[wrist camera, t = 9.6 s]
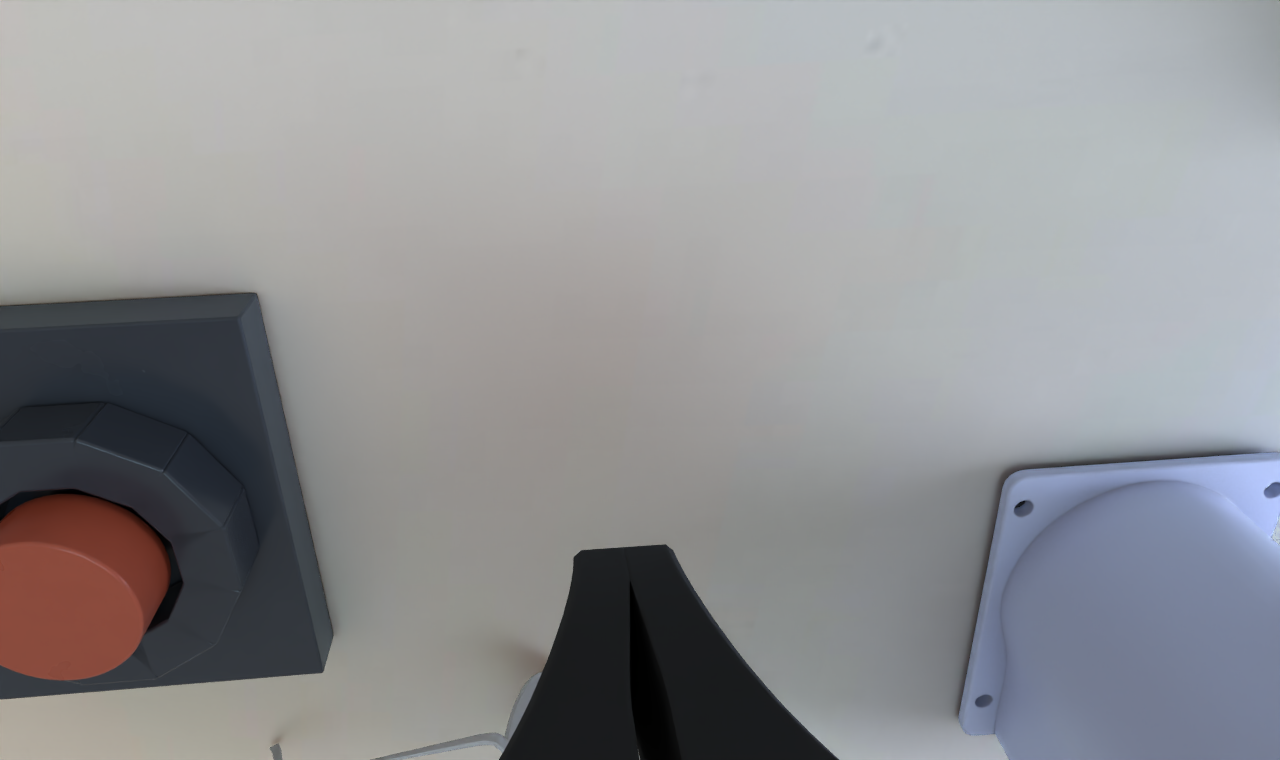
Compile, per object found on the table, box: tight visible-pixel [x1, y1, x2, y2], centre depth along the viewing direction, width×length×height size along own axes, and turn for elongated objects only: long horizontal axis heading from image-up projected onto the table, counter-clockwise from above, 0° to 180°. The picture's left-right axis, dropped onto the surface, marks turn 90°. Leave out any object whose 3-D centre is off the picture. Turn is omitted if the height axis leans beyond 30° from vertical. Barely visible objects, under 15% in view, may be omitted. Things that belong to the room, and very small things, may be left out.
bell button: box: [0, 494, 171, 681], centre depth 20 cm, size 4×4×2 cm
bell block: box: [0, 293, 333, 699], centre depth 21 cm, size 10×8×3 cm
